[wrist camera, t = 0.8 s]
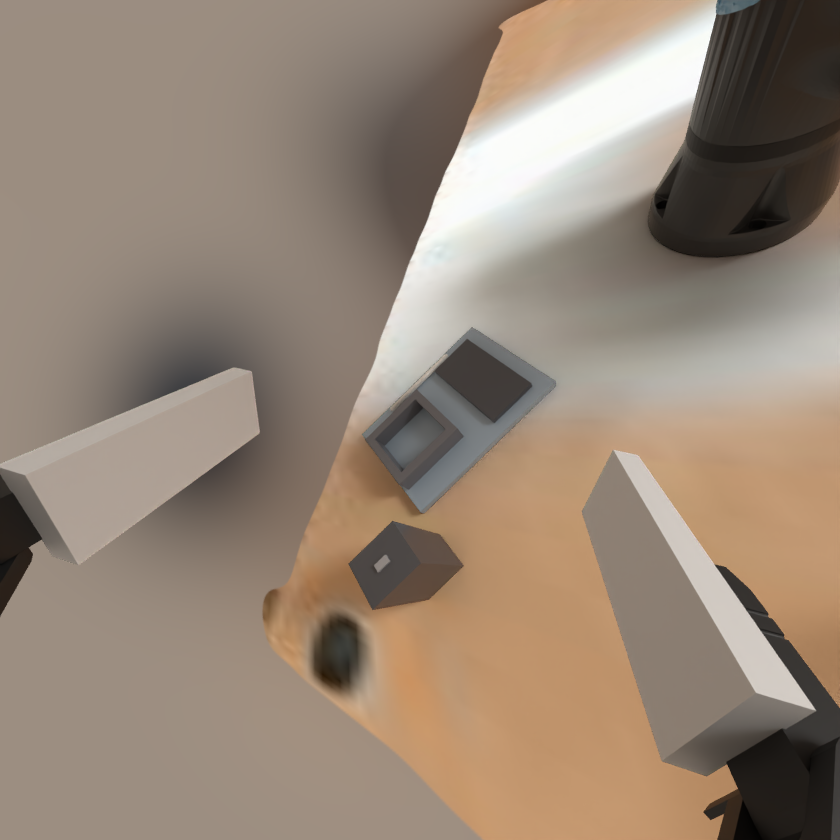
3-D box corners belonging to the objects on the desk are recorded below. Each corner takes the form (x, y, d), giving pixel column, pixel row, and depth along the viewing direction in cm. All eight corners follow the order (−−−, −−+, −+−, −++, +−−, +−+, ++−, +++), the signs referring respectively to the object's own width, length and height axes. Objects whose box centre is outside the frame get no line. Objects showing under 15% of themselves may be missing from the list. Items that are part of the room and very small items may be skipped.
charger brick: (439, 534, 35) (391, 520, 25) (463, 565, 32) (419, 562, 23) (407, 566, 35) (346, 563, 26) (428, 599, 33) (370, 610, 23)
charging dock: (473, 331, 44) (466, 314, 41) (555, 385, 36) (554, 369, 33) (365, 437, 44) (351, 427, 41) (424, 513, 36) (411, 508, 34)
